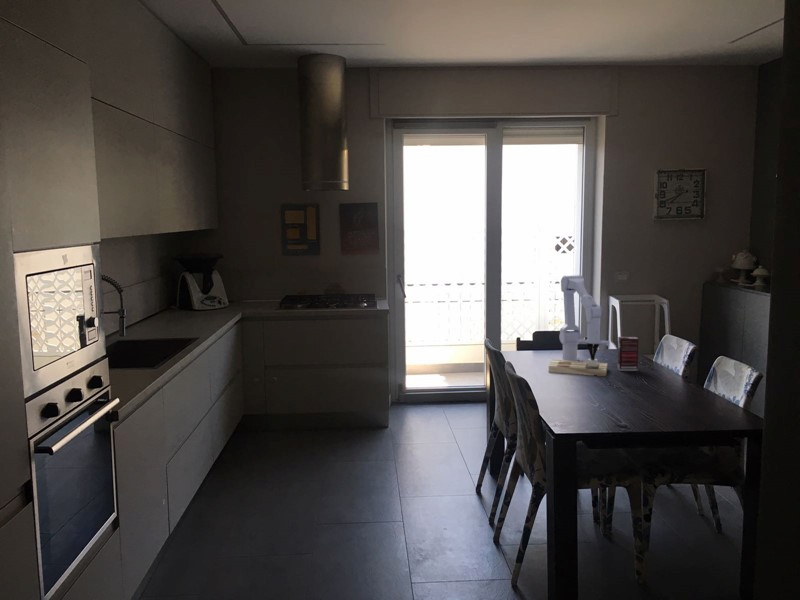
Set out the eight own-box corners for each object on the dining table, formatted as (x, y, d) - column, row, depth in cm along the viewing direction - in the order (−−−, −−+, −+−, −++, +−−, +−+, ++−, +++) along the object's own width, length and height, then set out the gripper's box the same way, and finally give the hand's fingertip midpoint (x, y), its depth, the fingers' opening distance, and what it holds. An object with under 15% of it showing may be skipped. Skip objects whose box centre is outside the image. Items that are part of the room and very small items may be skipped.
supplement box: (635, 368, 309) (636, 336, 307) (637, 371, 304) (639, 338, 302) (616, 368, 310) (618, 336, 308) (619, 371, 305) (620, 338, 303)
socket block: (552, 365, 318) (552, 358, 317) (607, 369, 308) (607, 362, 308) (548, 371, 305) (548, 364, 304) (605, 376, 295) (605, 369, 295)
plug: (588, 370, 307) (588, 358, 306) (596, 371, 305) (597, 359, 304) (587, 372, 303) (587, 360, 302) (596, 373, 302) (596, 360, 301)
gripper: (576, 332, 300) (576, 360, 302) (609, 333, 295) (608, 362, 297) (578, 329, 307) (577, 357, 309) (610, 331, 302) (609, 359, 304)
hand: (592, 359), depth 303 cm, fingers closed
